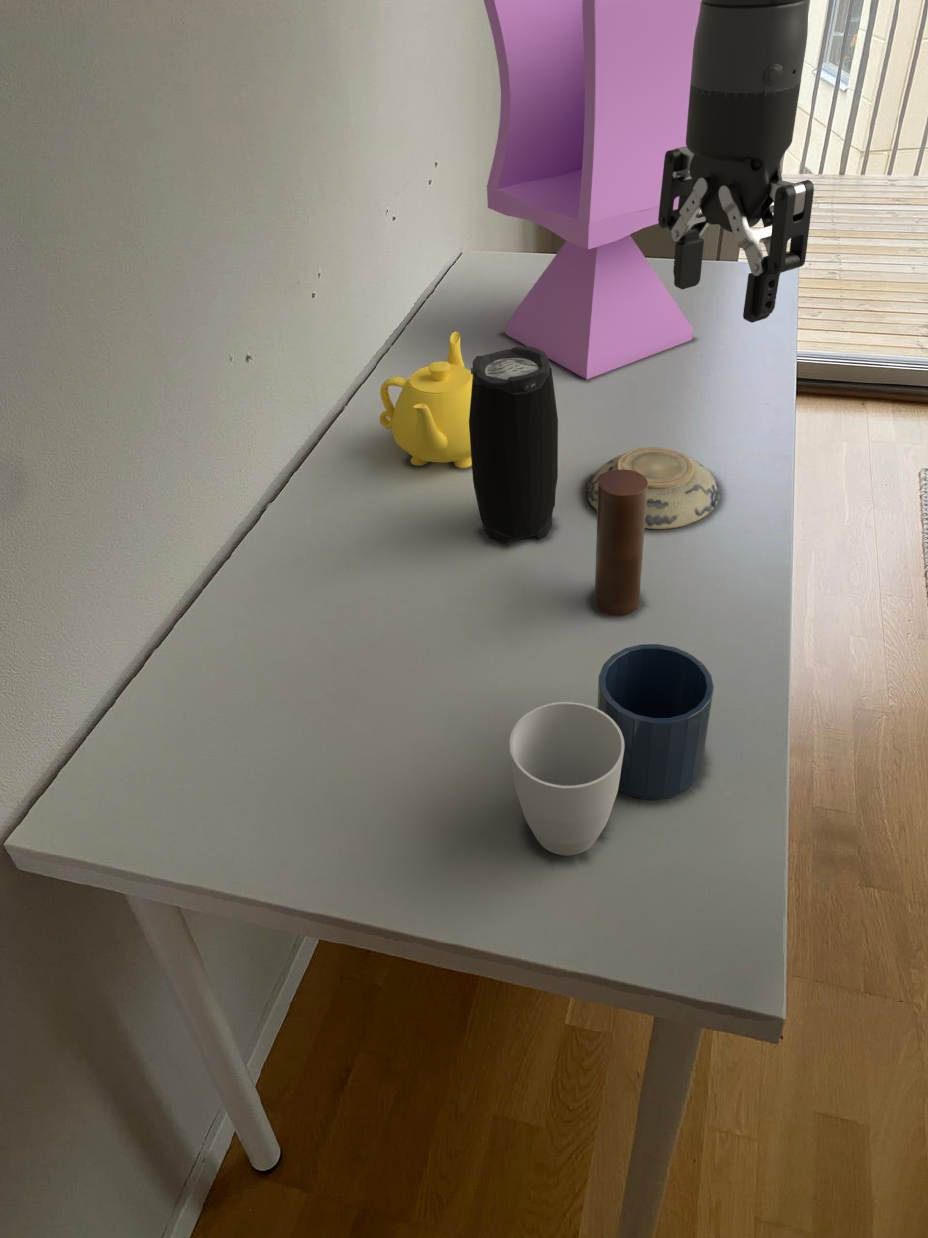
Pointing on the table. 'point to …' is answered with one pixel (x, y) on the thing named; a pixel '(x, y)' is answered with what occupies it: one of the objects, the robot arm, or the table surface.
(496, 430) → the portable speaker
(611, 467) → the decorative bowl
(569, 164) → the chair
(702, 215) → the robot arm
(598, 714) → the cup
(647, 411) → the table surface
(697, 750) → the crock
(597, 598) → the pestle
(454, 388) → the teapot
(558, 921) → the table surface
